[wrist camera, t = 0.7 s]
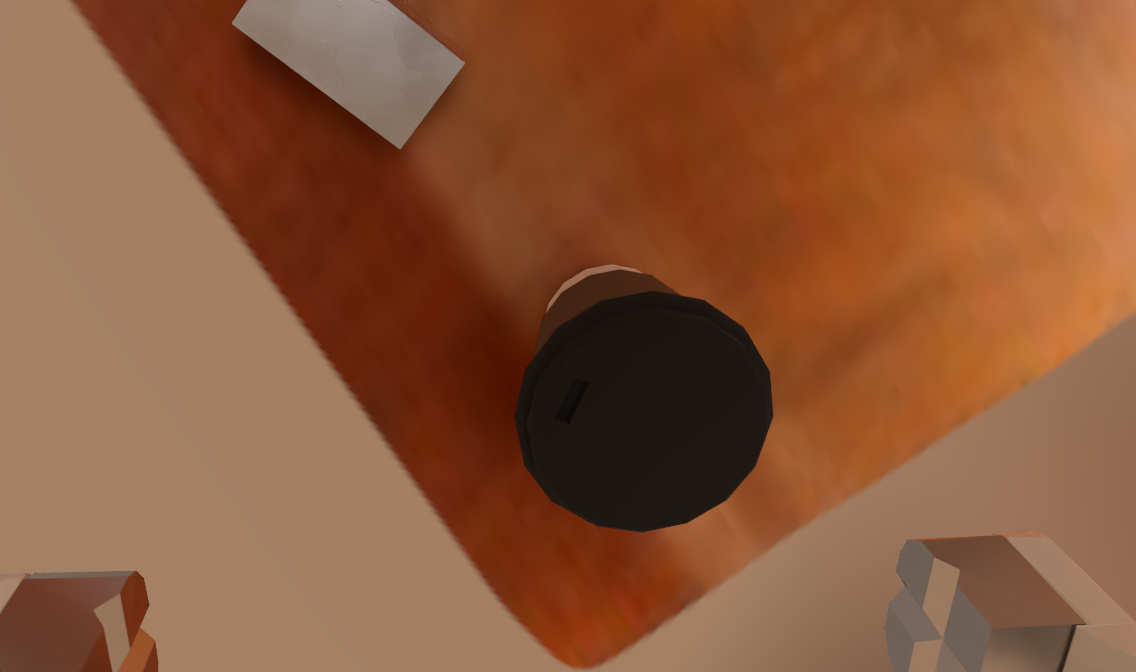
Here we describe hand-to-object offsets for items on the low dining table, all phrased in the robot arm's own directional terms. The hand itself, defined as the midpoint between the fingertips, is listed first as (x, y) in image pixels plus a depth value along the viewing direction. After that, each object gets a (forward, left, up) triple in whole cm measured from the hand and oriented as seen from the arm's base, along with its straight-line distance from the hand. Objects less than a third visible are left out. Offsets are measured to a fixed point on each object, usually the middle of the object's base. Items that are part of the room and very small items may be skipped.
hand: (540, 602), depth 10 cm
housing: (+1, -5, -37) cm, 37 cm away
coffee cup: (+5, +13, -37) cm, 39 cm away
